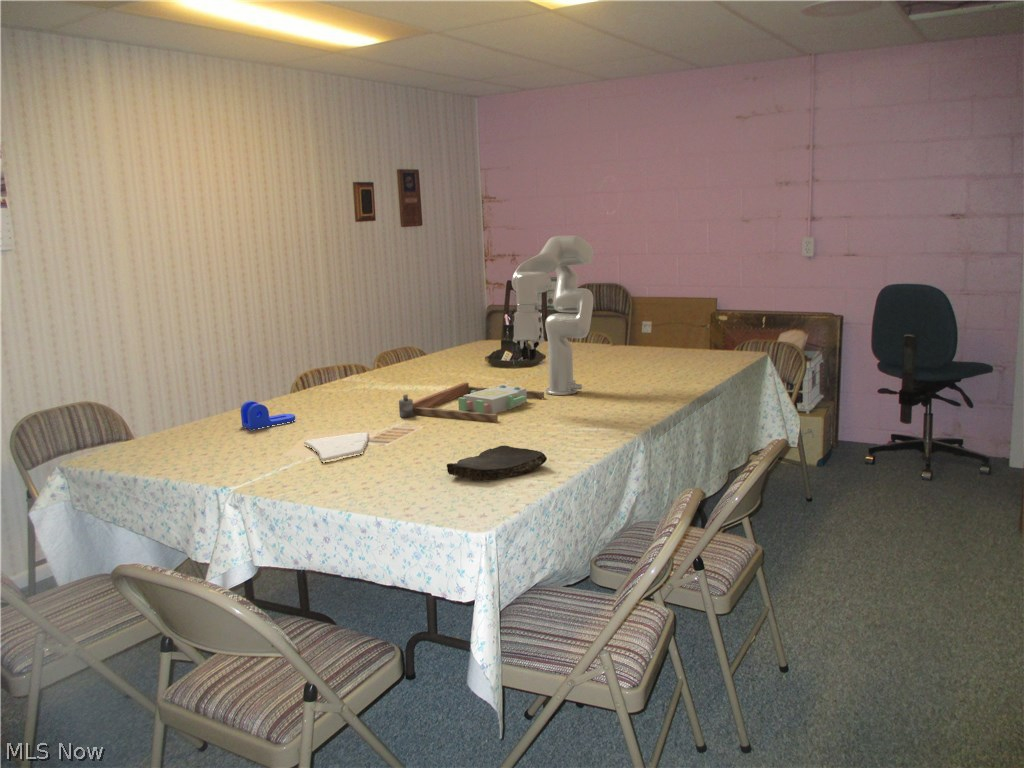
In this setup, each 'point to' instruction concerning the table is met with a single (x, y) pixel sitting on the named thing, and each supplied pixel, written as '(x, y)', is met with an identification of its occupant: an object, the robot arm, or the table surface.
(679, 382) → the table surface
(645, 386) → the table surface
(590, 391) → the table surface
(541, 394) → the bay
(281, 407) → the table surface
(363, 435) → the flat white fragment
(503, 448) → the stone slab
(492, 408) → the decorative block
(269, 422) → the bracket
